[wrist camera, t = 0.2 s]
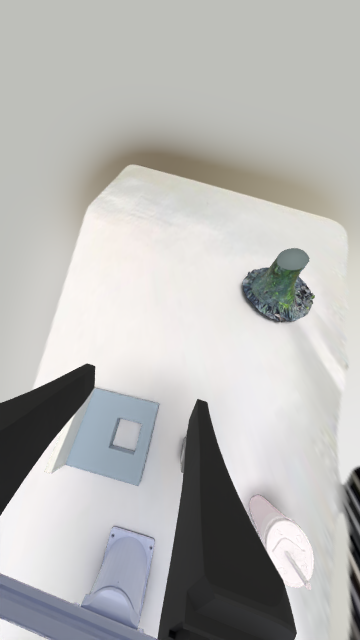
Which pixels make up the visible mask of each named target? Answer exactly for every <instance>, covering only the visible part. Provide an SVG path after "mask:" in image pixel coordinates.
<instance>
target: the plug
mask: <svg viewBox="0 0 360 640" xmlns="http://www.w3.org/2000/svg"><path fill="white" fill-rule="evenodd" d="M185 448H186V437H185V438H184V444H183V450H182V456H181V472H182V473H184V461H185Z"/></svg>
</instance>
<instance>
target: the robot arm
mask: <svg viewBox="0 0 360 640" xmlns="http://www.w3.org/2000/svg"><path fill="white" fill-rule="evenodd" d="M94 385H95V366H93V365H90V364H85V365H83V366H81V367H79V368H77V369H75V370H73V371H71V372H69V373H67V374H65V375H64V376H62V377H60V378H57V379H55V380H53V381H51V382H49V383H47V384H45V385H43V386H41V387H39V388H36V389H34V390H32V391H30V392H28V393H25V394H23V395H20V396H18V397H15V398H13V399H10V400H8V401H5V402H2V403H0V515H1V514H2V512H3V511H4V509H5V508H6V506H7V504H8V503H9V501H10V500H11V498H12V497H13V495H14V494H15V492H16V491H17V490H18V488H19V487H20V485H21V484H22V482H23V481H24V479H25V478H26V476H27V475H28V473H29V472H30V471H31V469H32V468H33V466H34V465H35V463H36V462H37V461H38V459H39V458H40V457H41V455H42V454H43V452H44V451H45V450H46V448H47V447H48V446H49V444H50V443H51V442H52V440H53V439H54V438H55V437H56V435H57V434H58V433H59V432H60V431H61V429H62V428H63V427H64V426H65V425H66V424H67V422H68V421H69V420H70V419H71V418H72V417H73V415H74V414H75V413H76V412H77V411H78V410H79V408H80V407H81V406H82V405H83V404H84V402H85V401H86V400H87V398H88V397H89V395H90V394H91V392H92V391H93V389H94ZM112 534H114V536H112ZM154 544H155V541H154V539H153V538H150V537H147V536H144V535H141V534H137V533H134V532H131V531H128V530H125V529H122V528H118V527H113V528H112V530H111V533H110V537H109V541H108V544H107V548H106V552H105V555H104V559H103V563H102V566H101V570H100V572H99V575H98V577H97V579H96V581H95V584H94V586H93V588H92V590H91V593H90V595H88V594H86V596H85V598H84V600H83V602H82V604H81V607H79V605H80V604H78V603H74V604H72V603H70V602H67V601H65V600H63V599H60V598H58V597H56V596H53V595H51V594H48V593H46V592H44V591H41V590H39V589H36V588H34V587H32V586H29V585H27V584H25V583H22V582H20V581H17V580H15V579H13V578H10V577H8V576H5V575H3V574H1V573H0V618H1V619H3V620H6V621H8V622H10V623H12V624H15V625H17V626H19V627H22V628H24V629H26V630H28V631H31V632H33V633H35V634H38V635H40V636H42V637H44V638H47V639H49V640H294V639H295V637H296V634H297V632H296V627H295V623H294V618H293V614H292V610H291V606H290V602H289V598H288V595H287V592H286V588H285V585H284V581H283V579H282V577H281V576H280V574H279V572H278V570H277V569H276V567H275V565H274V563H273V562H272V560H271V558H270V556H269V555H268V553H267V551H266V549H265V547H264V545H263V544H262V542H261V540H260V538H259V536H258V534H257V532H256V530H255V528H254V527H253V525H252V523H251V521H250V519H249V517H248V515H247V513H246V510H245V508H244V506H243V504H242V502H241V500H240V498H239V496H238V494H237V492H236V489H235V487H234V485H233V482H232V480H231V478H230V475H229V473H228V470H227V468H226V465H225V463H224V460H223V457H222V454H221V452H220V449H219V446H218V443H217V439H216V436H215V433H214V429H213V426H212V422H211V418H210V414H209V409H208V404H207V402H205V401H202V400H199V399H197V401H196V404H195V406H194V409H193V411H192V414H191V417H190V419H189V424H188V430H187V436H186V448H185V461H184V474H183V485H182V493H181V499H180V506H179V513H178V519H177V525H176V532H175V538H174V544H173V550H172V556H171V562H170V568H169V574H168V579H167V585H166V591H165V596H164V602H163V608H162V613H161V619H160V625H159V633H158V639H156V638H153V637H151V636H149V635H146V634H144V631H143V629H140V628H139V631H137V629H138V624H139V621H140V616H141V611H142V606H143V600H144V595H145V590H146V585H147V580H148V575H149V570H150V564H151V559H152V554H153V549H154ZM150 546H152V548H150Z"/></svg>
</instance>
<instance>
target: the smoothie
mask: <svg viewBox="0 0 360 640" xmlns="http://www.w3.org/2000/svg"><path fill="white" fill-rule="evenodd" d="M249 507H250V512H251V515H252V517H253V520H254V522H255V525H256V527H257V530H258V532H259V535H260V537H261V540H262V543H263V545H264V547H265V549H266V551H267V553H268V555H269V556H270V558H271V560H272V562H273V563H274V565H275V567H276V569H277V570H278V572H279V574H280V576H281V577H282V579H283V581H284V584H285V585H287V586H289V587H293V588H299V587H302V586H304V585H305V586H306V588H307V589H308V590H310V589H311V585H310V583H309V582H308V581H309V580H310V578H311V576H312V573H313V568H314V556H313V551H312V547H311V544H310V542H309V540H308V538H307V536H306V535H305V533H304V532H303V531H302V529H301V528H300V526H299V525H298V524H297V523H296V522H295V521H293V520H292V519H290V518H288V517H285V516H284V515H283V514H282V513H281V512H280V511H278V510H277V509H276V508H275V507H274V506H273V505H272V504H270V503H269V502H268V501H267V500H266V499H265V498H264V497H262V496H260V495H255V496H253V497H252V498H251V500H250V504H249Z"/></svg>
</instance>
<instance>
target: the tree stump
mask: <svg viewBox="0 0 360 640" xmlns="http://www.w3.org/2000/svg"><path fill="white" fill-rule="evenodd" d="M308 262H309V257H308V255H307V254H306V253H305V252H304V251H303V250H301V249H298V248H292V249H287V250H284V251H282V252H281V253H280V254H279V255H278V257H277V258H276V260H275V261H274V262H273V264H272V265H271V266H270V268H262V269H260V270H259V269H258V270H253V271H252V272H251V273H250V272H248V276H247V277H246V278H245V279H244V280H243V287H244V289H243V290H244V292H245V293H246V296H247V298H248V299H249V300H250V301H251V302H252V304H253V305H254V306H255V307H256V308H257V309H258V310H259V311H260V312H262V313H263V314H265V315H266V316H268V317H270V318H271V319H275V320H277V321H295V320H297V319H299V318H301V317H304V316H305V315H307V314H308V312H309V310H310V308H311V306H312V304H313V301H312V299H313V298H314V297H315V295H313V293H311V291H310V289H309V288H308V287H307V285H306V283H305V282H303V281H302V280H301V279H300V278H299V274H300V272H301V271H302V270H303V269H304V268H305V266H306V265H307V263H308ZM298 291H299V292H298Z"/></svg>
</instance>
